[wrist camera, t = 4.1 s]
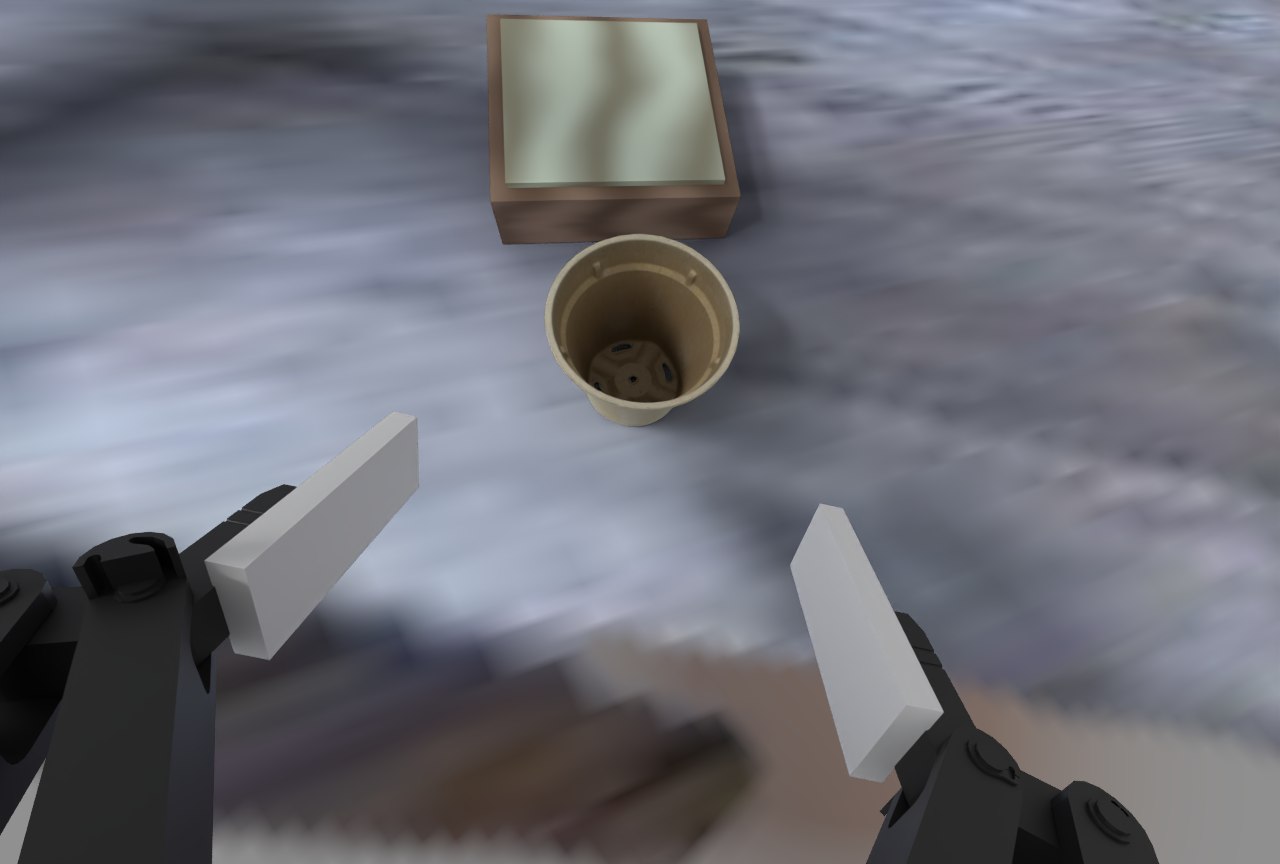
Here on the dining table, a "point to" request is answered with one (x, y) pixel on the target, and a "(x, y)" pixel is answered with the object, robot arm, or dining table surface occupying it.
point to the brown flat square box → (606, 130)
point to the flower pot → (641, 325)
